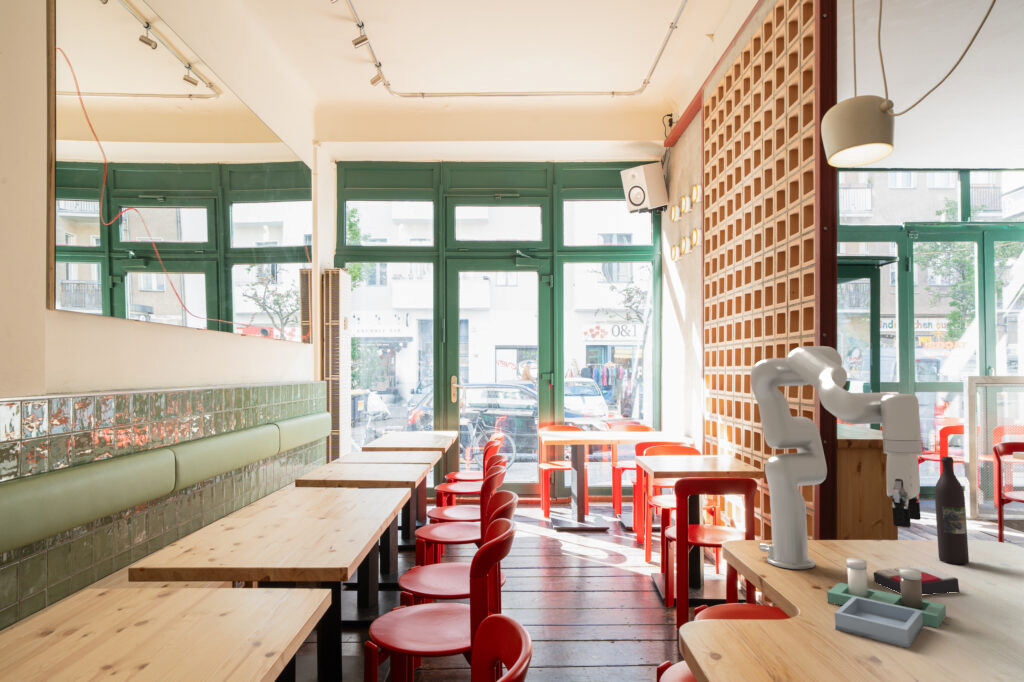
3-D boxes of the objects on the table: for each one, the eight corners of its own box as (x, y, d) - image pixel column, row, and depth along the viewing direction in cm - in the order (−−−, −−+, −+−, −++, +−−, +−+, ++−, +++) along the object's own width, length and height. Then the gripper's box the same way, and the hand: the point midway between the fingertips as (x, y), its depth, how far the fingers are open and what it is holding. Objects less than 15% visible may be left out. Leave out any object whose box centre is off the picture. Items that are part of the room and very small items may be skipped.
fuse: (846, 603, 144) (844, 560, 145) (851, 598, 147) (849, 557, 148) (866, 607, 141) (863, 564, 142) (871, 602, 144) (868, 560, 145)
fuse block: (827, 602, 145) (827, 591, 145) (839, 592, 151) (839, 582, 151) (937, 627, 129) (937, 616, 129) (946, 615, 136) (945, 604, 136)
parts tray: (835, 629, 130) (834, 612, 130) (854, 611, 139) (853, 596, 139) (908, 648, 120) (907, 630, 120) (923, 627, 130) (922, 610, 130)
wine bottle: (942, 563, 172) (935, 458, 174) (936, 557, 179) (929, 455, 180) (972, 566, 169) (965, 459, 171) (964, 559, 176) (957, 455, 178)
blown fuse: (899, 615, 136) (896, 570, 137) (904, 610, 139) (901, 566, 140) (921, 620, 133) (918, 574, 134) (925, 615, 136) (922, 569, 137)
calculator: (872, 569, 158) (922, 562, 161) (873, 585, 158) (924, 578, 160) (905, 583, 148) (958, 575, 150) (906, 601, 147) (960, 593, 150)
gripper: (893, 443, 148) (897, 514, 146) (873, 449, 135) (878, 527, 134) (929, 445, 142) (934, 518, 141) (912, 451, 130) (918, 532, 129)
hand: (907, 522), depth 138 cm, fingers open, 9 cm apart
